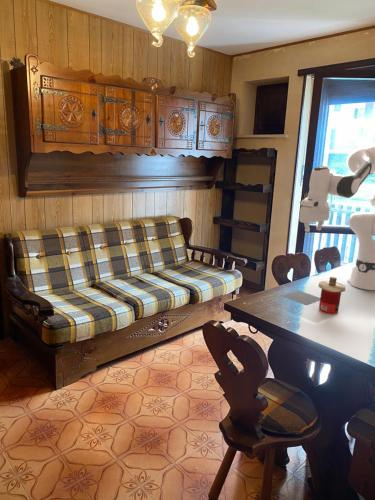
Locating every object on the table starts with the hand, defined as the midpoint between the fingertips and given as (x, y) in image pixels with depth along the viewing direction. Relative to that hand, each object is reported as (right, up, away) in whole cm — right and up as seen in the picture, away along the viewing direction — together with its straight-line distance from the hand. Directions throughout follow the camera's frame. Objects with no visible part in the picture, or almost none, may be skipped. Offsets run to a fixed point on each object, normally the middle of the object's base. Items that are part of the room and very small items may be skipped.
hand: (312, 230), depth 184 cm
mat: (-5, -32, 0) cm, 32 cm away
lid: (+3, -25, -17) cm, 31 cm away
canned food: (+2, -36, -15) cm, 39 cm away
